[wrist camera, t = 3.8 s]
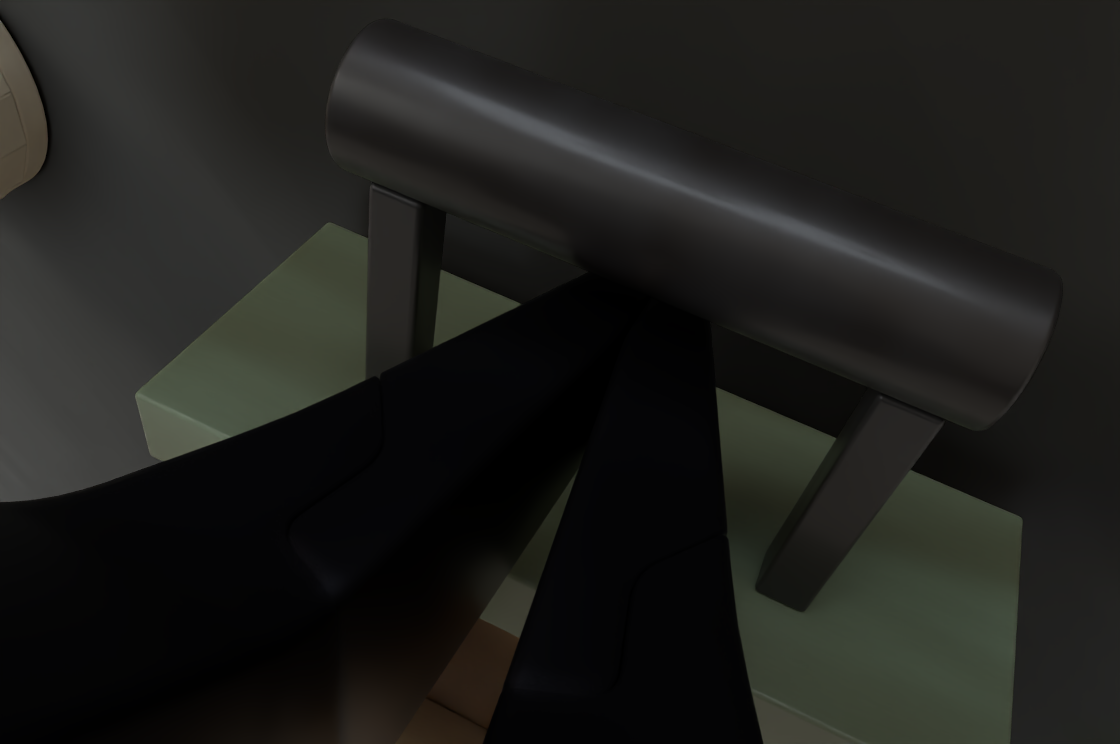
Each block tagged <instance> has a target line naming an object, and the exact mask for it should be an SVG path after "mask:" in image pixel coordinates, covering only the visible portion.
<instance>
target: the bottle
mask: <svg viewBox="0 0 1120 744" xmlns="http://www.w3.org/2000/svg"><path fill="white" fill-rule="evenodd" d="M47 146H48V132H47V122H46V117H45V113H44V108H43V104H42V101H41V98H40V95H39V92H38V89H37V86H36V84H35V82H34V79H33V77H32V74H31V72H30V70H29V68H28V66H27V64H26V62H25V60H24V58H23V56H22V54H21V52H20V50H19V49H18V47H17V45H16V44H15V42H14V40H13V39H12V37H11V35H10V34H9V32H8V30H7V29H6V27H5V26H4V25H3V23H2V22H1V20H0V199H2V198H4V197H5V196H6V195H7V194H8V193H9V192H11V191H12V190H14V189H15V188H17V187H19V186H20V185H22V184H24V183H25V182H27V181H29V180H30V179H32V178H33V177H34V176H35V175H36V174H37V173H38V172H39V170H40V169H41V167H42V165H43V163H44V161H45V157H46V153H47Z"/></svg>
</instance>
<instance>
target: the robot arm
mask: <svg viewBox="0 0 1120 744" xmlns="http://www.w3.org/2000/svg"><path fill="white" fill-rule="evenodd" d="M578 468H579V469H578ZM577 470H578V472H577V475H576V477H575V480H574V483H573V486H572V489H571V492H570V495H569V498H568V500H567V503H566V506H565V509H564V512H563V515H562V518H561V521H560V523H559V526H558V529H557V532H556V535H555V538H554V541H553V544H552V546H551V549H550V552H549V555H548V558H547V561H546V564H545V567H544V569H543V572H542V575H541V578H540V581H539V584H538V587H537V590H536V592H535V595H534V598H533V601H532V604H531V607H530V610H529V613H528V615H527V618H526V621H525V624H524V627H523V630H522V633H521V635H520V638H519V641H518V644H517V647H516V650H515V653H514V656H513V658H512V661H511V664H510V667H509V670H508V673H507V676H506V679H505V681H504V684H503V688H502V691H501V694H500V696H499V699H498V702H497V704H496V707H495V710H494V713H493V716H492V719H491V721H490V724H489V727H488V730H487V733H486V735H485V738H484V741H483V744H764V743H763V739H762V735H761V730H760V726H759V721H758V717H757V713H756V708H755V704H754V700H753V695H752V691H751V687H750V682H749V677H748V672H747V667H746V662H745V657H744V652H743V647H742V641H741V636H740V631H739V626H738V619H737V611H736V603H735V595H734V587H733V579H732V570H731V558H730V546H729V539H728V537H727V536H726V535H727V532H728V527H727V515H726V503H725V491H724V480H723V468H722V456H721V444H720V432H719V420H718V408H717V396H716V384H715V372H714V360H713V348H712V336H711V324H710V321H707V320H705V319H702V318H700V317H698V316H695V315H693V314H690V313H688V312H686V311H683V310H681V309H678V308H676V307H673V306H671V305H669V304H666V303H664V302H661V301H659V300H657V299H654V298H652V297H649V296H647V295H645V294H642V293H640V292H637V291H635V290H632V289H630V288H628V287H625V286H623V285H620V284H618V283H616V282H613V281H611V280H608V279H606V278H604V277H601V276H599V275H596V274H594V273H591V272H588V273H586V274H584V275H582V276H580V277H578V278H575V279H573V280H571V281H569V282H567V283H565V284H563V285H561V286H559V287H557V288H555V289H553V290H551V291H549V292H547V293H545V294H542V295H540V296H538V297H536V298H534V299H532V300H530V301H528V302H526V303H524V304H522V305H520V306H518V307H516V308H514V309H512V310H510V311H507V312H505V313H503V314H501V315H499V316H497V317H495V318H493V319H491V320H489V321H487V322H485V323H483V324H481V325H479V326H477V327H474V328H472V329H470V330H468V331H466V332H464V333H462V334H460V335H458V336H456V337H454V338H452V339H450V340H448V341H446V342H444V343H441V344H439V345H437V346H435V347H433V348H431V349H429V350H427V351H425V352H423V353H421V354H419V355H417V356H415V357H413V358H411V359H409V360H406V361H404V362H402V363H400V364H398V365H396V366H394V367H392V368H390V369H388V370H386V371H384V372H382V373H381V374H380V379H379V378H378V377H376V376H373V377H371V378H369V379H367V380H364V381H362V382H360V383H358V384H356V385H354V386H352V387H350V388H348V389H346V390H344V391H342V392H339V393H337V394H335V395H333V396H331V397H328V398H326V399H324V400H322V401H319V402H317V403H315V404H313V405H311V406H308V407H306V408H304V409H302V410H299V411H297V412H295V413H292V414H290V415H287V416H285V417H282V418H280V419H277V420H274V421H272V422H269V423H267V424H264V425H262V426H259V427H256V428H254V429H251V430H249V431H246V432H244V433H241V434H238V435H235V436H233V437H230V438H227V439H224V440H222V441H219V442H216V443H213V444H211V445H208V446H205V447H202V448H199V449H197V450H194V451H191V452H188V453H186V454H183V455H180V456H177V457H174V458H172V459H169V460H166V461H163V462H161V463H158V464H155V465H152V466H150V467H147V468H144V469H141V470H138V471H136V472H133V473H130V474H127V475H125V476H122V477H119V478H116V479H113V480H111V481H108V482H105V483H102V484H99V485H96V486H93V487H89V488H86V489H83V490H79V491H75V492H71V493H67V494H63V495H59V496H54V497H48V498H42V499H36V500H28V501H16V502H0V744H395V743H396V742H397V740H398V739H399V737H400V736H401V734H402V733H403V731H404V730H405V728H406V727H407V725H408V724H409V722H410V721H411V719H412V718H413V716H414V715H415V713H416V712H417V710H418V709H419V707H420V706H421V704H422V703H423V701H424V700H425V698H426V697H427V695H428V694H429V692H430V691H431V689H432V688H433V686H434V685H435V683H436V682H437V680H438V679H439V677H440V676H441V674H442V673H443V671H444V670H445V668H446V667H447V665H448V664H449V662H450V661H451V659H452V658H453V656H454V655H455V653H456V652H457V650H458V649H459V647H460V646H461V644H462V643H463V641H464V640H465V638H466V637H467V635H468V634H469V632H470V631H471V629H472V628H473V626H474V625H475V623H476V622H477V620H478V619H479V617H480V616H481V614H482V613H483V611H484V610H485V608H486V607H487V605H488V604H489V602H490V601H491V599H492V598H493V596H494V595H495V593H496V592H497V590H498V589H499V587H500V586H501V584H502V583H503V581H504V580H505V578H506V577H507V575H508V574H509V572H510V571H511V569H512V568H513V566H514V565H515V563H516V562H517V560H518V559H519V557H520V556H521V554H522V553H523V551H524V550H525V548H526V547H527V545H528V544H529V542H530V541H531V539H532V538H533V536H534V535H535V533H536V532H537V530H538V529H539V527H540V526H541V524H542V523H543V521H544V520H545V518H546V517H547V515H548V514H549V512H550V511H551V509H552V508H553V506H554V505H555V503H556V502H557V500H558V499H559V497H560V496H561V494H562V493H563V491H564V490H565V488H566V487H567V485H568V484H569V482H570V481H571V479H572V478H573V476H574V475H575V473H576V471H577Z"/></svg>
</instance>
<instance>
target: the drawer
mask: <svg viewBox="0 0 1120 744" xmlns="http://www.w3.org/2000/svg"><path fill="white" fill-rule="evenodd" d="M325 137H326V143H327V147H328V150H329V153H330V155H331V157H332V159H333V160H334V161H335V163H336V164H337V165H338V166H339V167H341V168H342V169H344V170H346V171H348V172H350V173H353V174H355V175H358V176H360V177H362V178H365V179H367V180H370V181H372V183H371V185H370V188H369V226H368V238H366V237H364V236H361V235H359V234H357V233H354V232H352V231H350V230H347V229H345V228H343V227H340V226H338V225H336V224H333V223H327V224H326V225H324V226H323V227H322V228H321V229H320V230H319V231H318V232H317V233H315V234H314V235H313V236H312V237H311V238H310V239H309V240H308V241H306V242H305V243H304V244H303V245H302V246H301V247H300V248H299V249H297V250H296V251H295V252H294V253H293V254H292V255H291V256H289V257H288V258H287V259H286V260H285V261H284V262H283V263H282V264H280V265H279V266H278V267H277V268H276V269H275V270H274V271H273V272H271V273H270V274H269V275H268V276H267V277H266V278H265V279H264V280H262V281H261V282H260V283H259V284H258V285H257V286H256V287H255V288H253V289H252V290H251V291H250V292H249V293H248V294H247V295H245V296H244V297H243V298H242V299H241V300H240V301H239V302H238V303H236V304H235V305H234V306H233V307H232V308H231V309H230V310H229V311H227V312H226V313H225V314H224V315H223V316H222V317H221V318H220V319H218V320H217V321H216V322H215V323H214V324H213V325H212V326H210V327H209V328H208V329H207V330H206V331H205V332H204V333H203V334H201V335H200V336H199V337H198V338H197V339H196V340H195V341H194V342H192V343H191V344H190V345H189V346H188V347H187V348H186V349H185V350H183V351H182V352H181V353H180V354H179V355H178V356H177V357H175V358H174V359H173V360H172V361H171V362H170V363H169V364H168V365H166V366H165V367H164V368H163V369H162V370H161V371H160V372H159V373H157V374H156V375H155V376H154V377H153V378H152V379H151V380H150V381H148V382H147V383H146V384H145V385H144V386H143V387H142V388H141V389H139V390H138V391H137V393H136V395H135V398H136V402H137V406H138V409H139V413H140V417H141V421H142V425H143V429H144V433H145V437H146V440H147V444H148V448H149V452H150V454H151V456H153V457H155V458H157V459H159V460H161V461H166V460H169V459H172V458H174V457H177V456H180V455H183V454H186V453H188V452H191V451H194V450H197V449H199V448H202V447H205V446H208V445H211V444H213V443H216V442H219V441H222V440H224V439H227V438H230V437H233V436H235V435H238V434H241V433H244V432H246V431H249V430H251V429H254V428H256V427H259V426H262V425H264V424H267V423H269V422H272V421H274V420H277V419H280V418H282V417H285V416H287V415H290V414H292V413H295V412H297V411H299V410H302V409H304V408H306V407H308V406H311V405H313V404H315V403H317V402H319V401H322V400H324V399H326V398H328V397H331V396H333V395H335V394H337V393H339V392H342V391H344V390H346V389H348V388H350V387H352V386H354V385H356V384H358V383H360V382H362V381H364V380H367V379H369V378H371V377H373V376H376V377H378V378H379V379H380V374H381V373H382V372H384V371H386V370H388V369H390V368H392V367H394V366H396V365H398V364H400V363H402V362H404V361H406V360H409V359H411V358H413V357H415V356H417V355H419V354H421V353H423V352H425V351H427V350H429V349H431V348H433V347H435V346H437V345H439V344H441V343H444V342H446V341H448V340H450V339H452V338H454V337H456V336H458V335H460V334H462V333H464V332H466V331H468V330H470V329H472V328H474V327H477V326H479V325H481V324H483V323H485V322H487V321H489V320H491V319H493V318H495V317H497V316H499V315H501V314H503V313H505V312H507V311H510V310H512V309H514V308H516V307H518V306H520V305H522V304H521V303H518V302H516V301H514V300H511V299H509V298H507V297H504V296H502V295H500V294H497V293H495V292H492V291H490V290H488V289H485V288H483V287H481V286H478V285H476V284H474V283H471V282H469V281H467V280H464V279H462V278H460V277H457V276H455V275H453V274H450V273H448V272H446V271H443V270H441V262H442V252H443V241H444V231H445V221H446V212H447V213H449V214H452V215H454V216H456V217H459V218H461V219H464V220H466V221H469V222H471V223H473V224H476V225H478V226H481V227H483V228H485V229H488V230H490V231H493V232H495V233H497V234H500V235H502V236H505V237H507V238H510V239H512V240H514V241H517V242H519V243H522V244H524V245H526V246H529V247H531V248H534V249H536V250H538V251H541V252H543V253H546V254H548V255H551V256H553V257H555V258H558V259H560V260H563V261H565V262H567V263H570V264H572V265H575V266H577V267H579V268H582V269H584V270H587V271H589V272H591V273H594V274H596V275H599V276H601V277H604V278H606V279H608V280H611V281H613V282H616V283H618V284H620V285H623V286H625V287H628V288H630V289H632V290H635V291H637V292H640V293H642V294H645V295H647V296H649V297H652V298H654V299H657V300H659V301H661V302H664V303H666V304H669V305H671V306H673V307H676V308H678V309H681V310H683V311H686V312H688V313H690V314H693V315H695V316H698V317H700V318H702V319H705V320H707V321H710V322H712V323H714V324H717V325H719V326H722V327H724V328H726V329H729V330H731V331H734V332H736V333H739V334H741V335H743V336H746V337H748V338H751V339H753V340H755V341H758V342H760V343H763V344H765V345H767V346H770V347H772V348H775V349H777V350H780V351H782V352H784V353H787V354H789V355H792V356H794V357H796V358H799V359H801V360H804V361H806V362H808V363H811V364H813V365H816V366H818V367H821V368H823V369H825V370H828V371H830V372H833V373H835V374H837V375H840V376H842V377H845V378H847V379H849V380H852V381H854V382H857V383H859V384H862V385H864V386H866V387H868V388H867V390H866V392H865V393H864V395H863V397H862V398H861V400H860V401H859V403H858V405H857V406H856V408H855V409H854V411H853V413H852V414H851V416H850V417H849V419H848V421H847V422H846V424H845V425H844V427H843V429H842V430H841V432H840V434H839V435H838V437H837V438H834V437H832V436H830V435H827V434H825V433H823V432H820V431H818V430H816V429H813V428H811V427H809V426H806V425H804V424H802V423H799V422H797V421H795V420H792V419H790V418H788V417H785V416H783V415H781V414H778V413H776V412H774V411H771V410H769V409H767V408H764V407H762V406H759V405H757V404H755V403H752V402H750V401H748V400H745V399H743V398H741V397H738V396H736V395H734V394H731V393H729V392H727V391H724V390H722V389H720V388H717V387H716V396H717V408H718V420H719V432H720V444H721V456H722V468H723V480H724V491H725V503H726V515H727V527H728V532H727V535H726V536H727V537H728V539H729V546H730V558H731V570H732V579H733V587H734V595H735V603H736V611H737V619H738V626H739V631H740V636H741V641H742V647H743V652H744V657H745V662H746V667H747V672H748V677H749V682H750V687H751V691H752V695H753V700H754V704H755V708H756V713H757V717H758V721H759V726H760V730H761V735H762V739H763V743H764V744H1010V740H1011V722H1012V704H1013V686H1014V668H1015V650H1016V632H1017V614H1018V596H1019V578H1020V560H1021V542H1022V524H1023V520H1022V518H1021V517H1019V516H1017V515H1015V514H1012V513H1010V512H1008V511H1005V510H1003V509H1001V508H998V507H996V506H994V505H991V504H989V503H987V502H984V501H982V500H980V499H977V498H975V497H973V496H970V495H968V494H966V493H963V492H961V491H959V490H956V489H954V488H952V487H949V486H947V485H944V484H942V483H940V482H937V481H935V480H933V479H930V478H928V477H926V476H923V475H921V474H919V473H916V472H914V471H912V470H911V468H912V467H913V466H914V464H915V463H916V461H917V460H918V459H919V457H920V456H921V455H922V453H923V452H924V451H925V449H926V448H927V447H928V445H929V444H930V443H931V441H932V440H933V439H934V437H935V436H936V435H937V433H938V432H939V431H940V429H941V428H942V427H943V425H944V424H945V419H946V420H948V421H951V422H953V423H956V424H958V425H960V426H963V427H965V428H968V429H970V430H973V431H981V430H985V429H988V428H989V427H991V426H992V425H994V424H995V423H996V422H997V421H998V420H999V419H1000V418H1001V417H1002V416H1003V415H1004V414H1005V413H1006V412H1007V411H1008V410H1009V409H1010V408H1011V406H1012V405H1013V404H1014V403H1015V401H1016V400H1017V399H1018V398H1019V396H1020V395H1021V393H1022V392H1023V390H1024V389H1025V387H1026V386H1027V384H1028V383H1029V381H1030V379H1031V378H1032V376H1033V374H1034V372H1035V371H1036V369H1037V367H1038V365H1039V363H1040V361H1041V359H1042V357H1043V355H1044V353H1045V351H1046V349H1047V347H1048V344H1049V342H1050V339H1051V337H1052V334H1053V332H1054V329H1055V326H1056V323H1057V319H1058V316H1059V312H1060V307H1061V302H1062V295H1063V283H1062V279H1061V277H1060V276H1059V275H1058V274H1057V273H1056V272H1055V271H1054V270H1052V269H1050V268H1047V267H1044V266H1042V265H1039V264H1036V263H1034V262H1031V261H1028V260H1026V259H1023V258H1021V257H1018V256H1015V255H1013V254H1010V253H1007V252H1005V251H1002V250H999V249H997V248H994V247H992V246H989V245H986V244H984V243H981V242H978V241H976V240H973V239H970V238H968V237H965V236H963V235H960V234H957V233H955V232H952V231H949V230H947V229H944V228H941V227H939V226H936V225H934V224H931V223H928V222H926V221H923V220H920V219H918V218H915V217H912V216H910V215H907V214H905V213H902V212H899V211H897V210H894V209H891V208H889V207H886V206H883V205H881V204H878V203H876V202H873V201H870V200H868V199H865V198H862V197H860V196H857V195H854V194H852V193H849V192H847V191H844V190H841V189H839V188H836V187H833V186H831V185H828V184H825V183H823V182H820V181H818V180H815V179H812V178H810V177H807V176H804V175H802V174H799V173H796V172H794V171H791V170H789V169H786V168H783V167H781V166H778V165H775V164H773V163H770V162H767V161H765V160H762V159H760V158H757V157H754V156H752V155H749V154H746V153H744V152H741V151H738V150H736V149H733V148H731V147H728V146H725V145H723V144H720V143H717V142H715V141H712V140H709V139H707V138H704V137H702V136H699V135H696V134H694V133H691V132H688V131H686V130H683V129H680V128H678V127H675V126H673V125H670V124H667V123H665V122H662V121H659V120H657V119H654V118H651V117H649V116H646V115H644V114H641V113H638V112H636V111H633V110H630V109H628V108H625V107H622V106H620V105H617V104H615V103H612V102H609V101H607V100H604V99H601V98H599V97H596V96H593V95H591V94H588V93H586V92H583V91H580V90H578V89H575V88H572V87H570V86H567V85H564V84H562V83H559V82H557V81H554V80H551V79H549V78H546V77H543V76H541V75H538V74H535V73H533V72H530V71H528V70H525V69H522V68H520V67H517V66H514V65H512V64H509V63H506V62H504V61H501V60H499V59H496V58H493V57H491V56H488V55H485V54H483V53H480V52H477V51H475V50H472V49H470V48H467V47H464V46H462V45H459V44H456V43H454V42H451V41H448V40H446V39H443V38H441V37H438V36H435V35H433V34H430V33H427V32H425V31H422V30H419V29H417V28H414V27H412V26H409V25H406V24H404V23H401V22H398V21H396V20H392V19H381V20H377V21H374V22H372V23H370V24H369V25H367V26H366V27H365V28H363V29H362V30H361V31H360V32H359V33H358V34H357V36H356V37H355V38H354V39H353V41H352V42H351V44H350V45H349V47H348V48H347V50H346V51H345V53H344V55H343V57H342V59H341V61H340V63H339V65H338V67H337V70H336V73H335V75H334V78H333V81H332V84H331V88H330V92H329V96H328V101H327V106H326V115H325ZM578 469H579V468H578ZM577 472H578V470H577V471H576V473H575V475H574V476H573V478H572V479H571V481H570V482H569V484H568V485H567V487H566V488H565V490H564V491H563V493H562V494H561V496H560V497H559V499H558V500H557V502H556V503H555V505H554V506H553V508H552V509H551V511H550V512H549V514H548V515H547V517H546V518H545V520H544V521H543V523H542V524H541V526H540V527H539V529H538V530H537V532H536V533H535V535H534V536H533V538H532V539H531V541H530V542H529V544H528V545H527V547H526V548H525V550H524V551H523V553H522V554H521V556H520V557H519V559H518V560H517V562H516V563H515V565H514V566H513V568H512V569H511V571H510V572H509V574H508V575H507V577H506V578H505V580H504V581H503V583H502V584H501V586H500V587H499V589H498V590H497V592H496V593H495V595H494V596H493V598H492V599H491V601H490V602H489V604H488V605H487V607H486V608H485V610H484V611H483V613H482V614H481V616H480V617H479V619H478V620H477V622H476V623H475V625H474V626H473V628H472V629H471V631H470V632H469V634H468V635H467V637H466V638H465V640H464V641H463V643H462V644H461V646H460V647H459V649H458V650H457V652H456V653H455V655H454V656H453V658H452V659H451V661H450V662H449V664H448V665H447V667H446V668H445V670H444V671H443V673H442V674H441V676H440V677H439V679H438V680H437V682H436V683H435V685H434V686H433V688H432V689H431V691H430V692H429V694H428V695H427V697H426V698H425V700H424V701H423V703H422V704H421V706H420V707H419V709H418V710H417V712H416V713H415V715H414V716H413V718H412V719H411V721H410V722H409V724H408V725H407V727H406V728H405V730H404V731H403V733H402V734H401V736H400V737H399V739H398V740H397V742H396V743H395V744H483V741H484V738H485V735H486V733H487V730H488V727H489V724H490V721H491V719H492V716H493V713H494V710H495V707H496V704H497V702H498V699H499V696H500V694H501V691H502V688H503V684H504V681H505V679H506V676H507V673H508V670H509V667H510V664H511V661H512V658H513V656H514V653H515V650H516V647H517V644H518V641H519V638H520V635H521V633H522V630H523V627H524V624H525V621H526V618H527V615H528V613H529V610H530V607H531V604H532V601H533V598H534V595H535V592H536V590H537V587H538V584H539V581H540V578H541V575H542V572H543V569H544V567H545V564H546V561H547V558H548V555H549V552H550V549H551V546H552V544H553V541H554V538H555V535H556V532H557V529H558V526H559V523H560V521H561V518H562V515H563V512H564V509H565V506H566V503H567V500H568V498H569V495H570V492H571V489H572V486H573V483H574V480H575V477H576V475H577Z"/></svg>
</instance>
